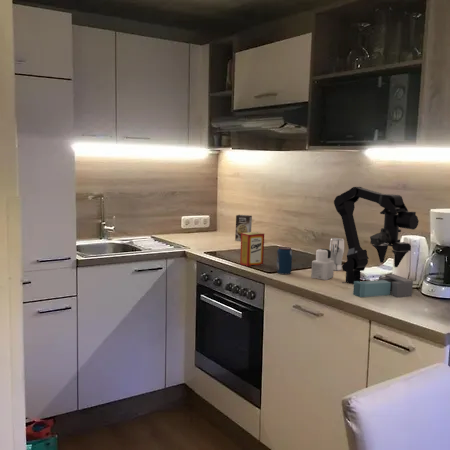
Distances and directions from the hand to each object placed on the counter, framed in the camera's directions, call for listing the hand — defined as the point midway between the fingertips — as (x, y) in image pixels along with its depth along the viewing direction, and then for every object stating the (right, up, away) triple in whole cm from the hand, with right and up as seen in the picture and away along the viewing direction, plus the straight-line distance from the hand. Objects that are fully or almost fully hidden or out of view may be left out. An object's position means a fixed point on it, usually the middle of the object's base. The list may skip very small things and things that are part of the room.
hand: (388, 264), depth 219 cm
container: (-22, -8, +28) cm, 36 cm away
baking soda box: (-52, -4, +53) cm, 75 cm away
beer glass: (-12, -6, +47) cm, 49 cm away
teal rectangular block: (-8, -11, -5) cm, 15 cm away
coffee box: (-54, +6, +128) cm, 139 cm away
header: (+2, -12, -1) cm, 12 cm away
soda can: (-38, -7, +35) cm, 52 cm away
